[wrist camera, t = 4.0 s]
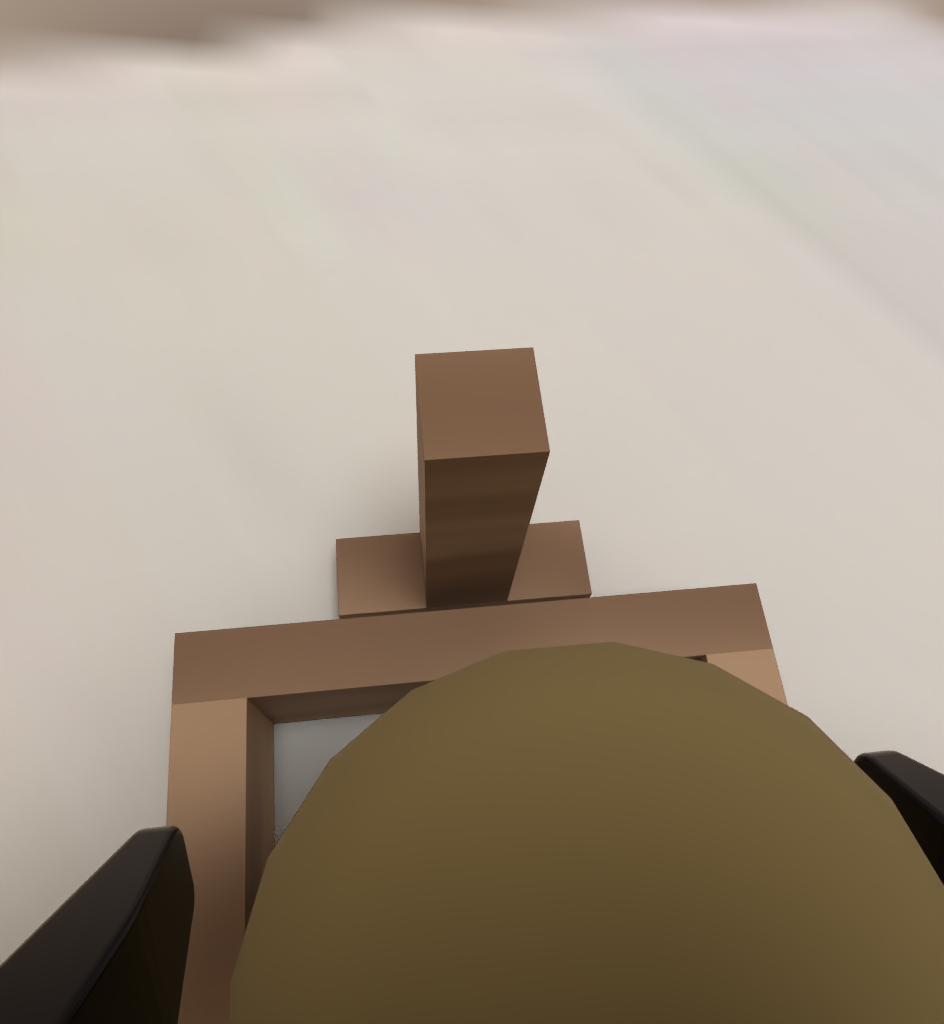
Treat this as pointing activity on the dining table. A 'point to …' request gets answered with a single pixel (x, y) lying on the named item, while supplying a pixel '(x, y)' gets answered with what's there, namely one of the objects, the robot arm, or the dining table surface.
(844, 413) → the dining table surface
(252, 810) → the collar stand
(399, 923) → the olive bulb shape
